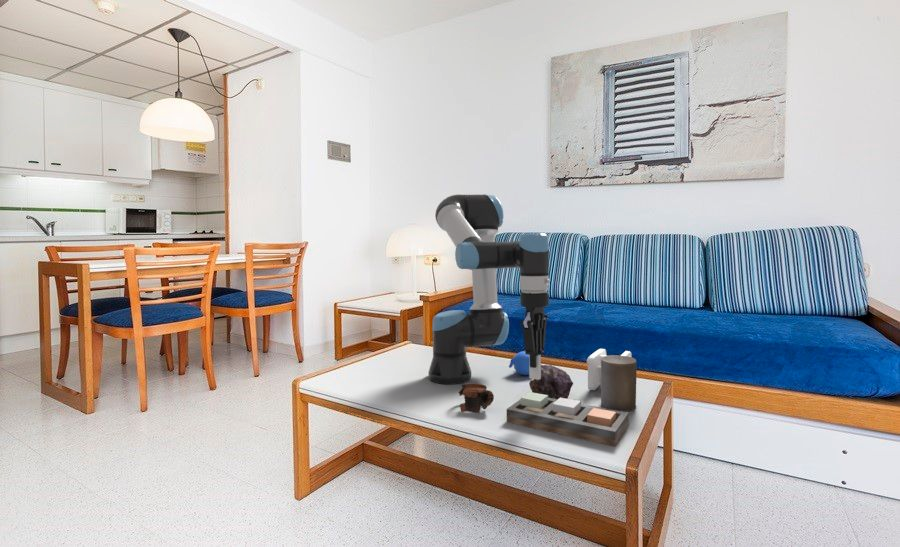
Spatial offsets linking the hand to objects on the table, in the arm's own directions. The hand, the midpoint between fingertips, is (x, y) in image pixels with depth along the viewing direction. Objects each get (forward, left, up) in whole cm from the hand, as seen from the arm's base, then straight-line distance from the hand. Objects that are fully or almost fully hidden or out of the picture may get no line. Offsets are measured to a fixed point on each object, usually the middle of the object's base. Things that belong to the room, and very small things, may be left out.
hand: (535, 378), depth 125 cm
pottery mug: (-9, -15, -11) cm, 21 cm away
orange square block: (+11, +14, -8) cm, 20 cm away
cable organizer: (-21, +30, -11) cm, 38 cm away
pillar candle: (-6, +26, -11) cm, 29 cm away
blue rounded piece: (-41, +7, -11) cm, 43 cm away
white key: (+5, +7, -7) cm, 11 cm away
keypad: (+5, +7, -11) cm, 14 cm away
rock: (-16, +10, -11) cm, 22 cm away
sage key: (0, 0, -7) cm, 7 cm away
